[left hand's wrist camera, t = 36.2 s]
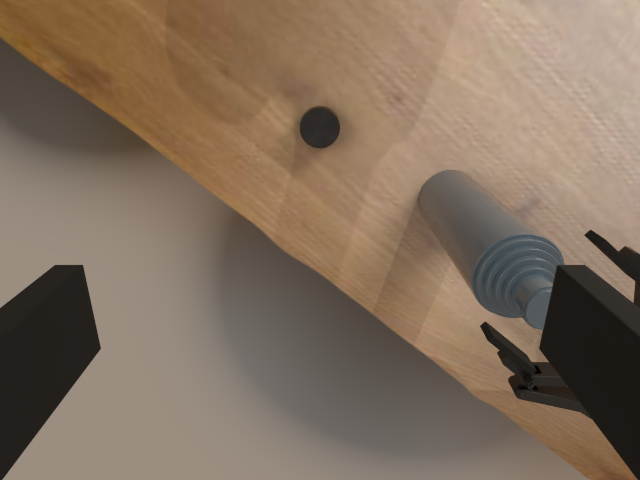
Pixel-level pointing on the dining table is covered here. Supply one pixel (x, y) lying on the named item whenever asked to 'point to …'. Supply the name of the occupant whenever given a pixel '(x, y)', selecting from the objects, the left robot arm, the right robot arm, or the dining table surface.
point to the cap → (319, 127)
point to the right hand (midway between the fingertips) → (537, 286)
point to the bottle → (491, 247)
